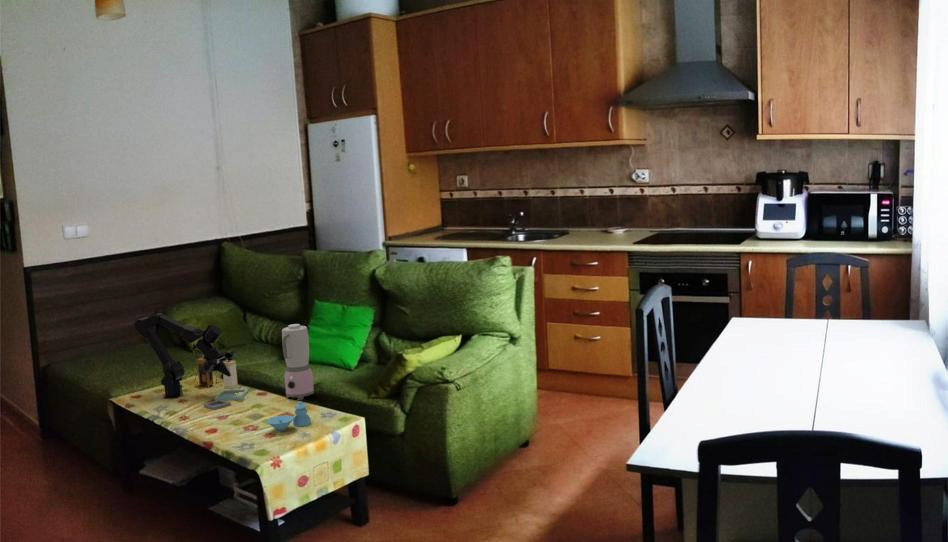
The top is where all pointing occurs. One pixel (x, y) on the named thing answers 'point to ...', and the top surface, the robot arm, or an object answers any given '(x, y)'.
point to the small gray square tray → (217, 404)
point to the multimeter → (204, 377)
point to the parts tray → (231, 395)
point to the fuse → (232, 380)
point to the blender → (297, 361)
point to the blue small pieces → (291, 418)
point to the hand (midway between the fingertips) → (232, 374)
